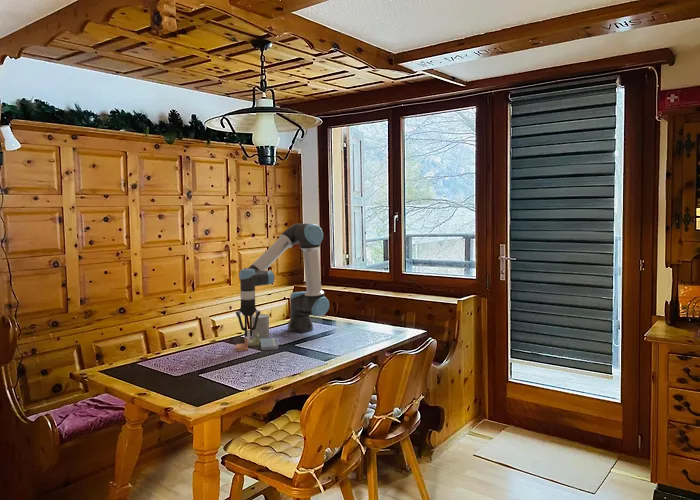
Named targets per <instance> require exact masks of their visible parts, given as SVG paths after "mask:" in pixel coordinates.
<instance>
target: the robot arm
mask: <svg viewBox="0 0 700 500" xmlns="http://www.w3.org/2000/svg"><path fill="white" fill-rule="evenodd" d="M278 237H279V238H278V239H277V240H276V241H275V242H274V243H273V244H272V245H271V246H269V247H268V249H266V251H264V252H263V253H262V254H261V255H260V256H259V257H258V258H257V259H256V260H254V262H253V263H252V264H251V265H250V266H248V267H247V268H242V269H241V270H240V271H239V273H238V278H239V281H240V282H239V283H240V286H239V287H240V290H239V291H240V308H239V310H238V311H235V315H236V316H237V318H238V322H239V326H240V329H241V330H242V331H244V338H247V344H249V343H250V339H251V338H252V337H253V334H252V330H255V329H256V325H257V320H258V316H259V314H261V310H258V309H257V307H256V299H255V298H256V287H260V286H261V287H262V286H268V285H269V286H270V285H273V283H274V282H275V278H276V277H275V273H274V272H273V271H272V270H267V269H268V268H270V266H271V265H272V264H273V263H274V262H276V260H277V259H279V257H280V256H282V255H283V253H285V252H286V251H287V250H288V249H291V248H292V247H294V245H297V244H299V249H301V251H302V254H303V264H304V276H305V277H304V278H305V287H306V288H305V289H306V290H305V291H295V292H291V294H290V299H289V301H290V302H289V303H290V318H289V322H288V325H287V331H289V332H292V333H307V332H311V331H313V330H314V325H313V321H312V319H311V316H313V317H323V316H324V315H326V314H327V312H328V311H329V309H330V301H329V299H328V298H327V297H326V296H325V291H324V290H323V289H322V282H321V281H322V280H321V271H320V260H319V259H320V258H319V248H320V247H321V243H322V242H323V239H324V232H323V229H322V228H321V226H319V225H318V224H314V223H301V222H300V223H295V224H292V225H290V226H289V227H288V228H287V229H285V230H284V231H283V232H282V233H280V235H279V236H278ZM241 315H243V316H244V324H243V322H242V317H241ZM253 315H256V317H255V322H254V326H253V327H252V316H253ZM248 317H249V329H248Z"/></svg>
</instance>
